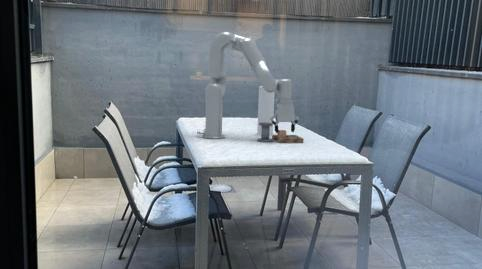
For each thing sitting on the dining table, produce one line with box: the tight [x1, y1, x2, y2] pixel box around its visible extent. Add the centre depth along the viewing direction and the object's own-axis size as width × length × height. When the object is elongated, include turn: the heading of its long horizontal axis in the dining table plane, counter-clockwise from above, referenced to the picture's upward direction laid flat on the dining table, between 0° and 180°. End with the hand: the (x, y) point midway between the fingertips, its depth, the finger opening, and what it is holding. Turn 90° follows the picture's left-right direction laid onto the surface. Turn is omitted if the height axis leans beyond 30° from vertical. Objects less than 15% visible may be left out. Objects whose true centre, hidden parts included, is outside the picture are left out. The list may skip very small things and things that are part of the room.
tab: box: [276, 129, 287, 137], centre depth 256 cm, size 4×4×6 cm
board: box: [271, 134, 305, 144], centre depth 257 cm, size 14×14×2 cm
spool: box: [256, 122, 274, 143], centre depth 254 cm, size 9×9×10 cm
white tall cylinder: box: [256, 85, 275, 137], centre depth 275 cm, size 9×9×30 cm
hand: (284, 132), depth 256 cm, fingers open, 8 cm apart
